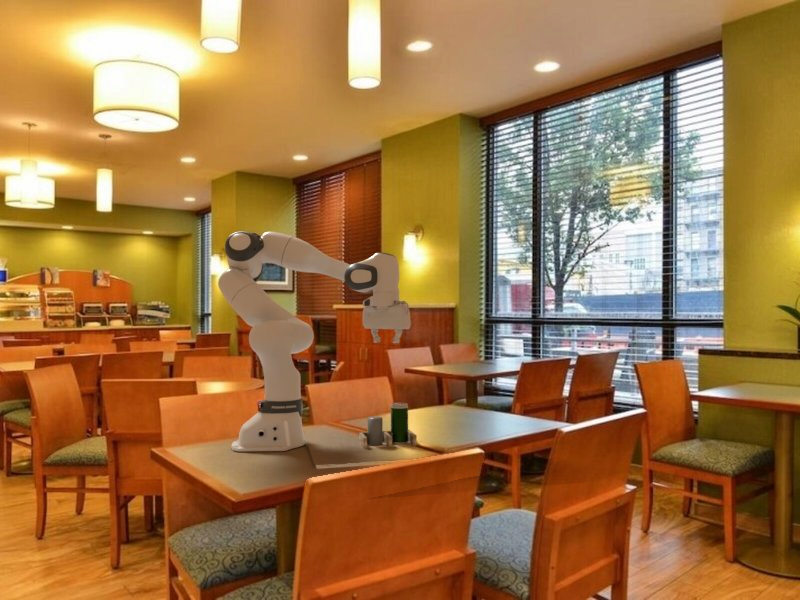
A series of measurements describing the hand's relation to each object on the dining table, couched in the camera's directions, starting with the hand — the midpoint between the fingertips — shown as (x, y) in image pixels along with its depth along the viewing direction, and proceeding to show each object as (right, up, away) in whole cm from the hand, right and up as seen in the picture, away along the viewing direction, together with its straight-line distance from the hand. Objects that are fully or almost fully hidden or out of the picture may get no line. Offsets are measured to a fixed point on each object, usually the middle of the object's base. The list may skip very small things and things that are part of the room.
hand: (386, 342), depth 198 cm
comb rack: (+1, -31, -16) cm, 35 cm away
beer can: (+4, -30, -15) cm, 34 cm away
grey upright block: (-3, -30, -17) cm, 34 cm away
